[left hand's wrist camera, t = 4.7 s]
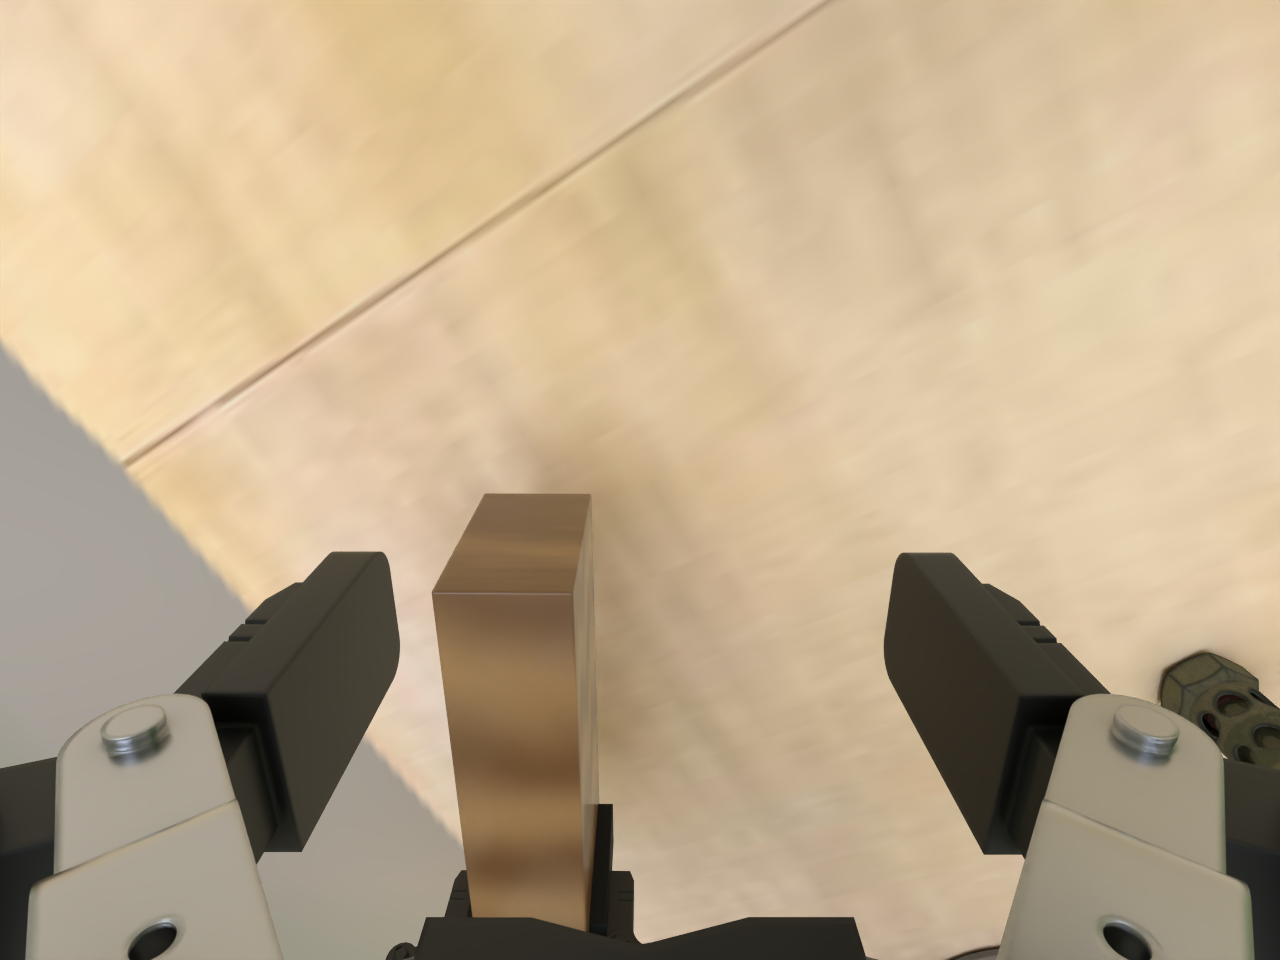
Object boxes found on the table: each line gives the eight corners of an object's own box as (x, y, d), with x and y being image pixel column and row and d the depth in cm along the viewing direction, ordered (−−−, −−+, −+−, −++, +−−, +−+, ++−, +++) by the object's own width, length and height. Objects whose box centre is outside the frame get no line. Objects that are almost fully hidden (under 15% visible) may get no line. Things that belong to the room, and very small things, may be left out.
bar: (484, 492, 31) (430, 591, 23) (591, 493, 30) (572, 592, 23) (517, 867, 39) (486, 1030, 31) (600, 868, 39) (590, 1031, 31)
